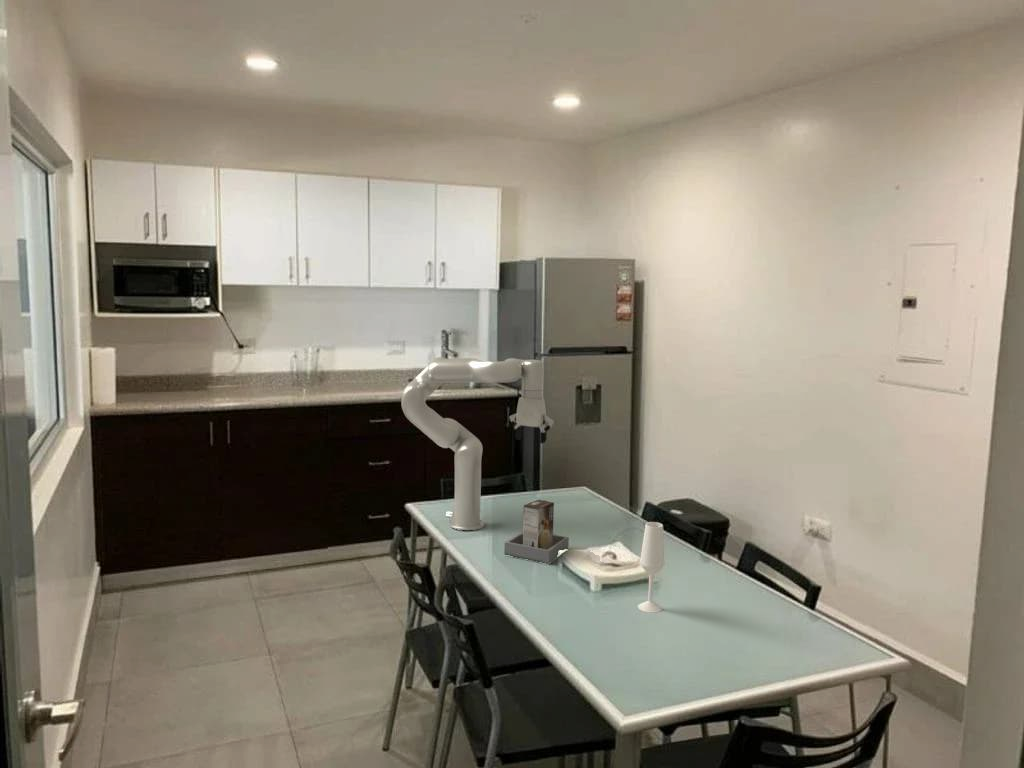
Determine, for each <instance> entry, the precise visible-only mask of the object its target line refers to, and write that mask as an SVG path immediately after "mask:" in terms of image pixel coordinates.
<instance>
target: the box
mask: <svg viewBox="0 0 1024 768" xmlns="http://www.w3.org/2000/svg"><path fill="white" fill-rule="evenodd" d="M569 539H570V538H569V536H565V535H559V534H554V533H553V546H552V547H551V548H549V549H548V550H546V549H541V548H536V547H531V546H526V545H523V530H522V531H521V532H519V533H517V534H516V535H513V537H511V538H509V539H507V540H506V541H505V542H504V549H503V550H504V552H503V554H505V555H510V556H513V557H512V558H514V557H517V558H516V559H518V558H522V559H521V560H523V559H528V560H533V561H537V562H536V563H538V562H542V563H546V564H545V565H547V564H549V563H550V562H552V561H553V560H554V559H555V558H557V555H558V551H559V550H564V549H568V550H569V544H570V543H569ZM557 559H558V558H557ZM528 560H527V561H528ZM533 561H532V562H533ZM554 561H555V560H554ZM554 561H553V562H554ZM553 562H552V563H553ZM542 563H541V564H542ZM550 564H551V563H550ZM550 564H549V565H550Z"/></svg>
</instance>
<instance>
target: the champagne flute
mask: <svg viewBox="0 0 1024 768" xmlns="http://www.w3.org/2000/svg"><path fill="white" fill-rule="evenodd" d="M644 525H645V526H644V531H643V532H644V533H643V539H642V546H641V547H642V548H641V554H640V559H639V560H640V561H639V562H640V563H639V564H640V565H641V568H642V569H643V570H644V571H645V572H646V574H648V576H649V578H648V592H647V593H648V595H647V596H648V597H647V600H646V601H643V602H642V603H639V604H638V605H637V608H638V609H639V610H641V611H643V612H644V613H659V612H661V611H662V610H663V608H662V606H661V605H660V604H658V603H656V602H655V601H653V599H654V598H653V594H654V593H653V592H654V578H655V577H654V576H655V575H656V574H658V573H659V572H660V571H662V569H664V566H665V563H666V562H665V544H664V539H665V538H664V525H663V524H662V523H661V522H657V521H656V522H655V521H649V522H648V521H647V522H646V523H645V524H644Z"/></svg>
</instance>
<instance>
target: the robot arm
mask: <svg viewBox="0 0 1024 768" xmlns="http://www.w3.org/2000/svg"><path fill="white" fill-rule="evenodd" d="M519 379H521V389H518V394H520V395H521V397H520V396H519V397H518V401H517V407H516V413H513V414H511V415H510V416H509V417H508V419H509V420H510V423H511V424H510V425H512V427H513V429H514V430H515V432H514V433H515V435H514V437H515V440H516V441H519V440H522V437H523V436H522V435H523V434H522V432H523V430H522V426H523V427H531V428H539V430H540V436H539V437H540V438H539V444H545V443H546V441H547V432H549V430H551V428H552V426H553V424H554V423H555V420H554V419H552V418H551V417H549V416H547V413H546V411H547V410H546V402H545V398H543V397H544V396H543V395H544V394H543V390H544V362H543V361H542V360H540V359H520V358H515V357H514V358H513V357H510V358H506V359H505V360H504V361H503V360H501V361H500V360H499V361H489V360H480V359H478V358H471V357H469V358H468V357H467V358H446V357H441V356H440V357H436V358H433V360H432V361H430V362H429V364H428V365H427V366H426V367H425V368H424V369H423V370H422V371H421V372H420V373H419V374H418V375H417V376H415V378H413V380H411V381H410V382H409V383H408V384H407V385H406V386H405V387H404V390H403V392H402V395H401V399H400V400H401V402H400V403H401V409H402V412H403V414H404V416H405V417H406V419H407V420H409V422H410V423H411V424H413V426H415V427H416V428H417V429H419V430H420V431H421V432H422V433H423V434H424V435H425V436H427V437H428V438H429V439H430V440H431V441H433V443H435V444H436V445H437V446H439V447H441V448H442V449H448V448H449V449H451V450H452V452H454V458H453V459H454V502H453V503H454V505H453V507H454V508H453V509H454V510H453V511H452V510H451V511H450V510H447V511H446V513H445V518H446V519H447V518H448V519H451V520H450V522H449V526H450V528H451V529H453V528H454V530H456V529H457V530H456V531H462V530H473V531H478V530H481V529H483V528H484V527H485V522H484V520H482V519H481V500H482V498H481V495H482V494H481V492H482V491H481V489H482V456H483V451H484V450H483V449H484V448H483V444H482V442H481V441H480V439H479V438H478V437H477V436H476V435H474V434H473V433H472V432H470V431H469V430H468V429H467V428H466V427H465V426H463V425H462V424H461V423H459V422H458V421H457V420H455V419H454V418H451V417H450V418H449V417H445V418H444V417H443V416H441V415H440V414H438V413H437V412H436V411H435V410H434V409H433V408H431V407H429V406H428V405H427V403H426V401H427V399H428V398H429V397H430V396H431V395H432V394H433V393H434V392H435V391H436V390H437V389H438V388H440V386H442V384H444V383H446V384H447V383H448V384H449V383H488V384H489V383H491V384H492V383H493V384H495V383H512V382H516V381H518V380H519ZM546 422H547V425H546ZM477 529H478V530H477Z"/></svg>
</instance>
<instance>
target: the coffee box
mask: <svg viewBox="0 0 1024 768" xmlns="http://www.w3.org/2000/svg"><path fill="white" fill-rule="evenodd" d="M554 508H555V502H554V501H553V502H552V501H547V500H543V499H537V500H534V501H532V502H529V503H526V504H524V505H523V517H522V519H523V521H522V522H523V525H522V529H523V530H522V531H523V545H526V546H531V547H536V548H541V549H546V550H548V549H549V548H551V547H552V546H553V534H554V516H555V515H554V514H555V513H554V511H555V509H554Z"/></svg>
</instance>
